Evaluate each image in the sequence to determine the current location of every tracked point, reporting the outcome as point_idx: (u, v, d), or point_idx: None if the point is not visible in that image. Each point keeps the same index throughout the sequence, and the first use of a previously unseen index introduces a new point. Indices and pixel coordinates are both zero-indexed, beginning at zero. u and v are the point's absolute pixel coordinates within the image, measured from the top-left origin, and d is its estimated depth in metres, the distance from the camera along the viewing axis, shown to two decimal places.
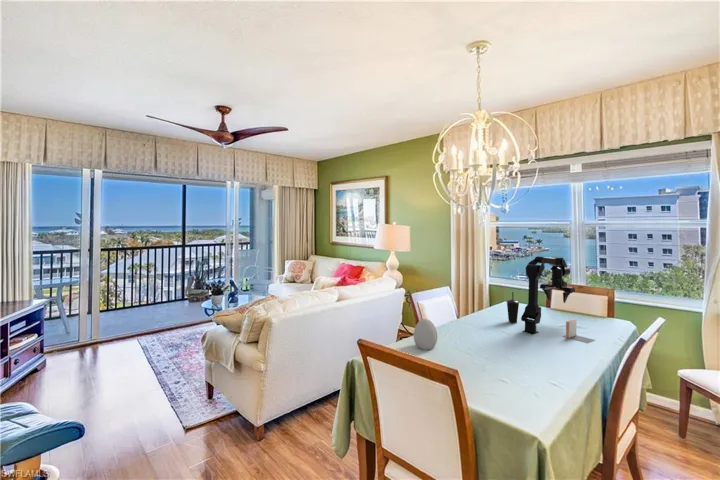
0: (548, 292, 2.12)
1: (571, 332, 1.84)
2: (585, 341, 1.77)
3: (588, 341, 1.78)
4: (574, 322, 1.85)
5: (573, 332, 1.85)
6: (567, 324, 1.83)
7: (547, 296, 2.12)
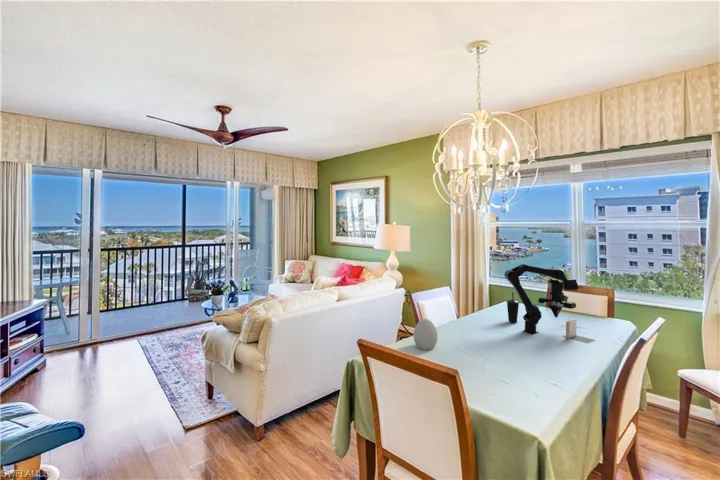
0: None
1: (571, 332, 1.84)
2: (585, 341, 1.77)
3: (588, 341, 1.78)
4: (574, 322, 1.85)
5: (573, 332, 1.85)
6: (567, 324, 1.83)
7: (553, 313, 1.92)
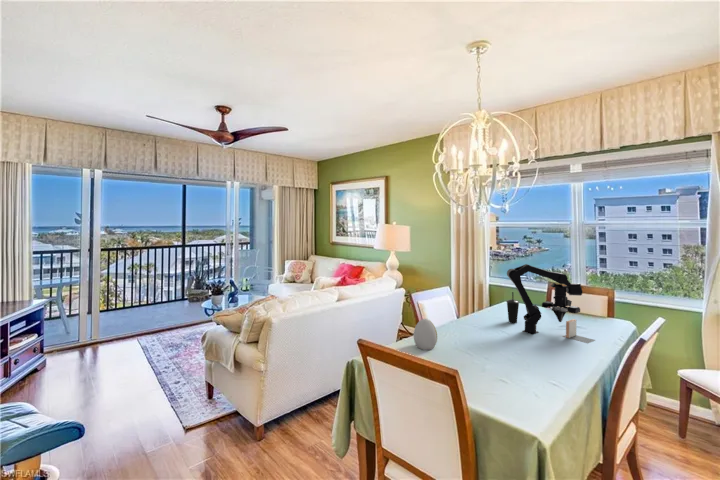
0: None
1: (571, 332, 1.84)
2: (585, 341, 1.77)
3: (588, 341, 1.78)
4: (574, 322, 1.85)
5: (573, 332, 1.85)
6: (567, 324, 1.83)
7: (557, 317, 1.90)
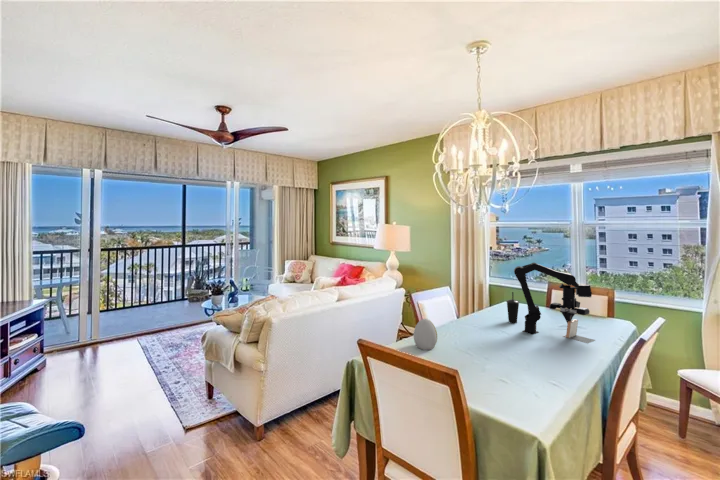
0: (567, 314, 1.87)
1: (571, 332, 1.84)
2: (585, 341, 1.77)
3: (588, 341, 1.78)
4: (575, 322, 1.85)
5: (573, 332, 1.85)
6: (568, 324, 1.83)
7: (566, 319, 1.86)
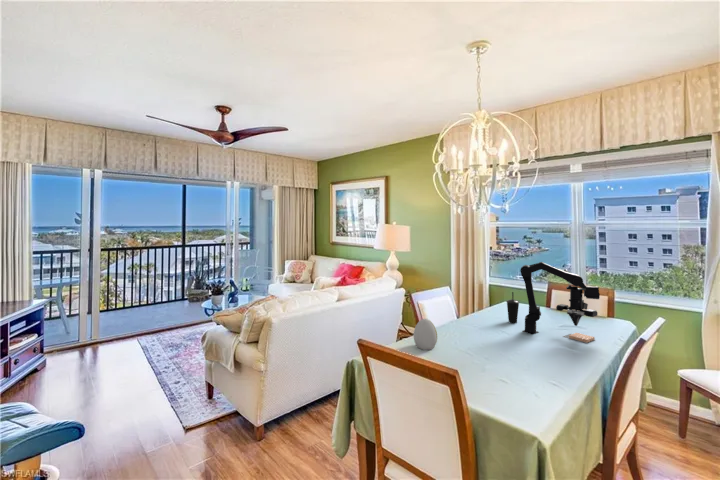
0: (574, 316, 1.83)
1: None
2: None
3: None
4: None
5: None
6: (584, 340, 1.76)
7: (573, 321, 1.83)
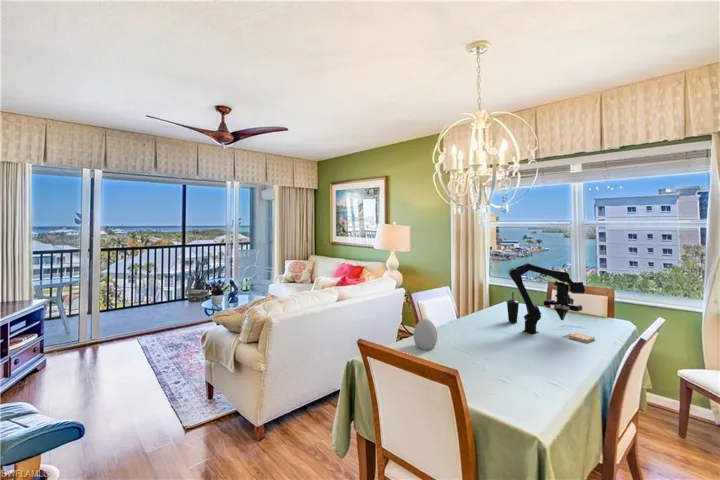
0: None
1: None
2: None
3: None
4: None
5: None
6: (584, 340, 1.76)
7: (559, 316, 1.89)
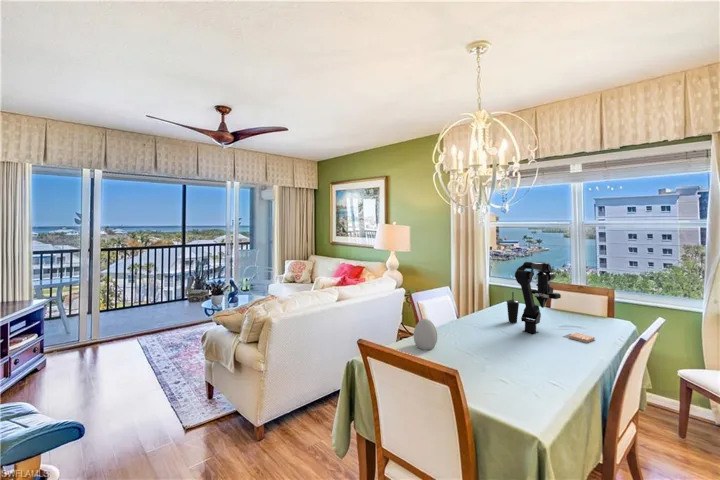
0: None
1: None
2: None
3: None
4: None
5: None
6: (584, 340, 1.76)
7: (540, 303, 2.04)
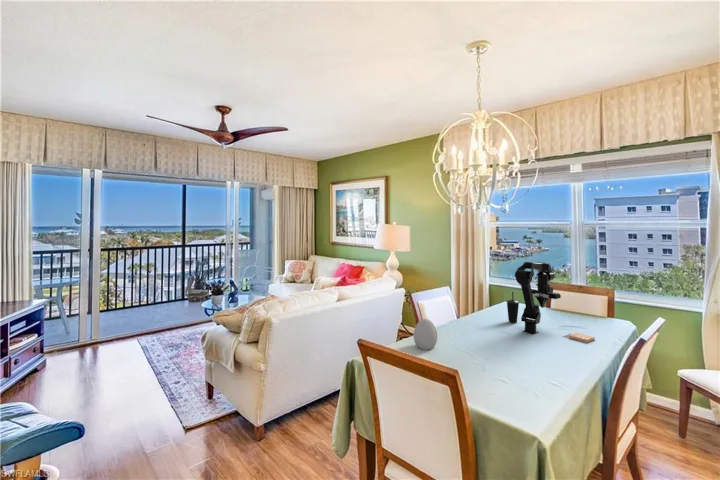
0: None
1: None
2: None
3: None
4: None
5: None
6: (584, 340, 1.76)
7: (540, 303, 2.04)
